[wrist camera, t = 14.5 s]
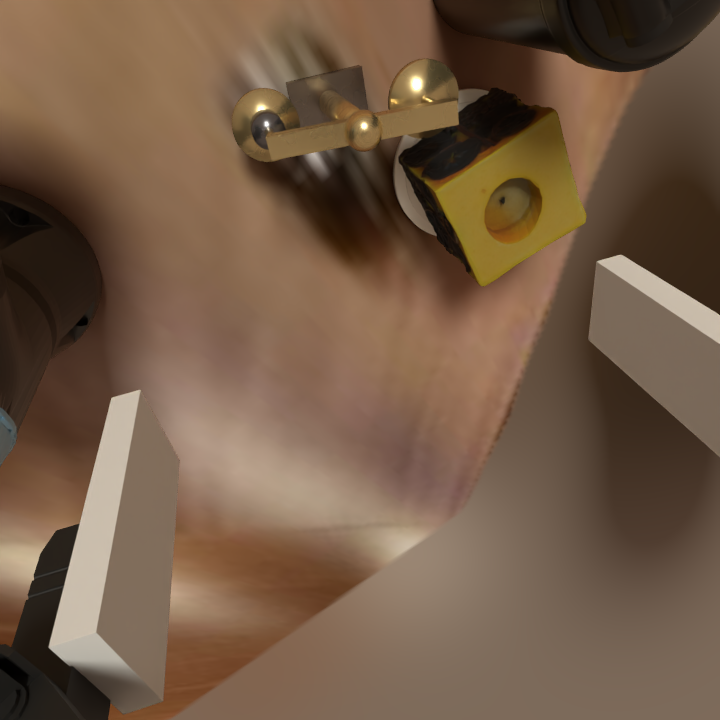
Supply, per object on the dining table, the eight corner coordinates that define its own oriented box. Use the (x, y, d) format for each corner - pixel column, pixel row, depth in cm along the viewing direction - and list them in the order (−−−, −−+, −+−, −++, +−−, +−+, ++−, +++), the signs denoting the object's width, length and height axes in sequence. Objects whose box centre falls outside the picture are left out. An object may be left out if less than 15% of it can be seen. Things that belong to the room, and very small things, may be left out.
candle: (495, 84, 44) (558, 102, 36) (531, 185, 50) (593, 220, 42) (392, 154, 45) (431, 187, 37) (439, 245, 51) (482, 290, 43)
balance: (241, 155, 43) (251, 207, 32) (221, 90, 41) (225, 122, 29) (423, 110, 45) (493, 146, 34) (417, 44, 42) (491, 58, 31)
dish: (402, 249, 52) (406, 253, 51) (382, 107, 44) (386, 110, 43) (525, 216, 53) (530, 220, 52) (526, 72, 45) (533, 74, 44)
